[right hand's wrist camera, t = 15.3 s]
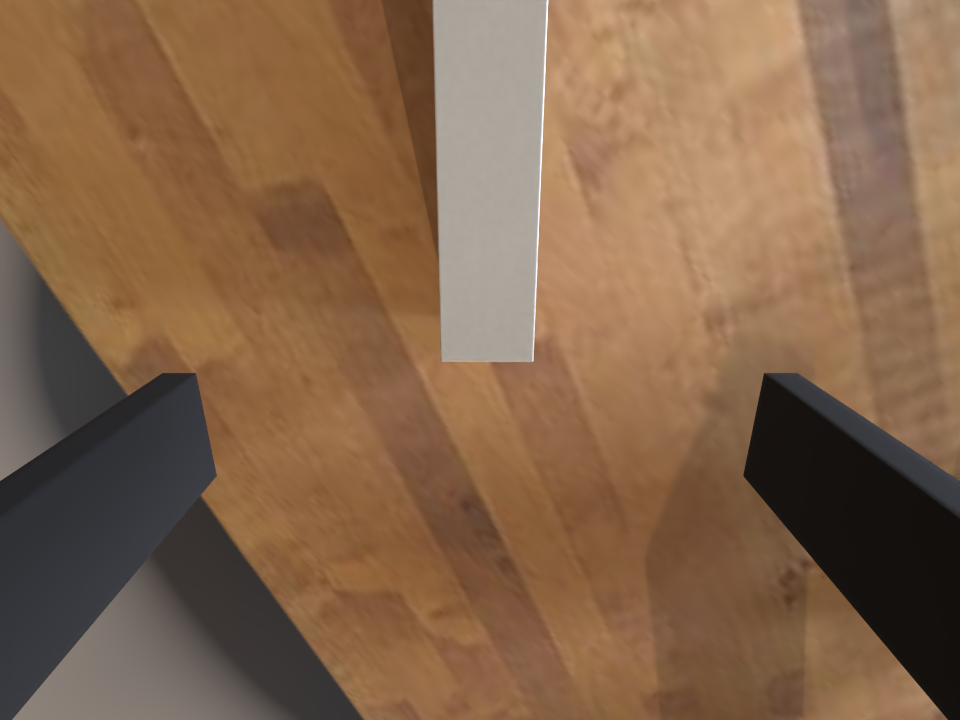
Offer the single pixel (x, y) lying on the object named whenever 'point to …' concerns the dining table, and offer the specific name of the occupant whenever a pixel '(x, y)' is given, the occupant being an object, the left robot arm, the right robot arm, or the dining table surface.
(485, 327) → the bar
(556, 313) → the dining table surface
